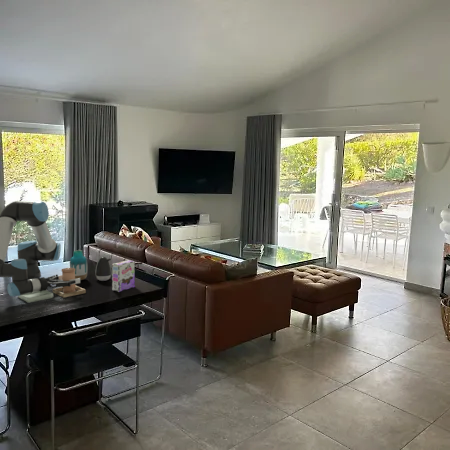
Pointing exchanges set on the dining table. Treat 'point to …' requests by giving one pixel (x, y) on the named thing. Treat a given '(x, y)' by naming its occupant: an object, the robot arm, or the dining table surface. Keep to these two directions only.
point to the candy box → (123, 275)
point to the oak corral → (80, 291)
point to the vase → (79, 264)
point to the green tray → (36, 296)
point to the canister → (66, 276)
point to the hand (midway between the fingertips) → (74, 278)
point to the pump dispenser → (103, 269)
